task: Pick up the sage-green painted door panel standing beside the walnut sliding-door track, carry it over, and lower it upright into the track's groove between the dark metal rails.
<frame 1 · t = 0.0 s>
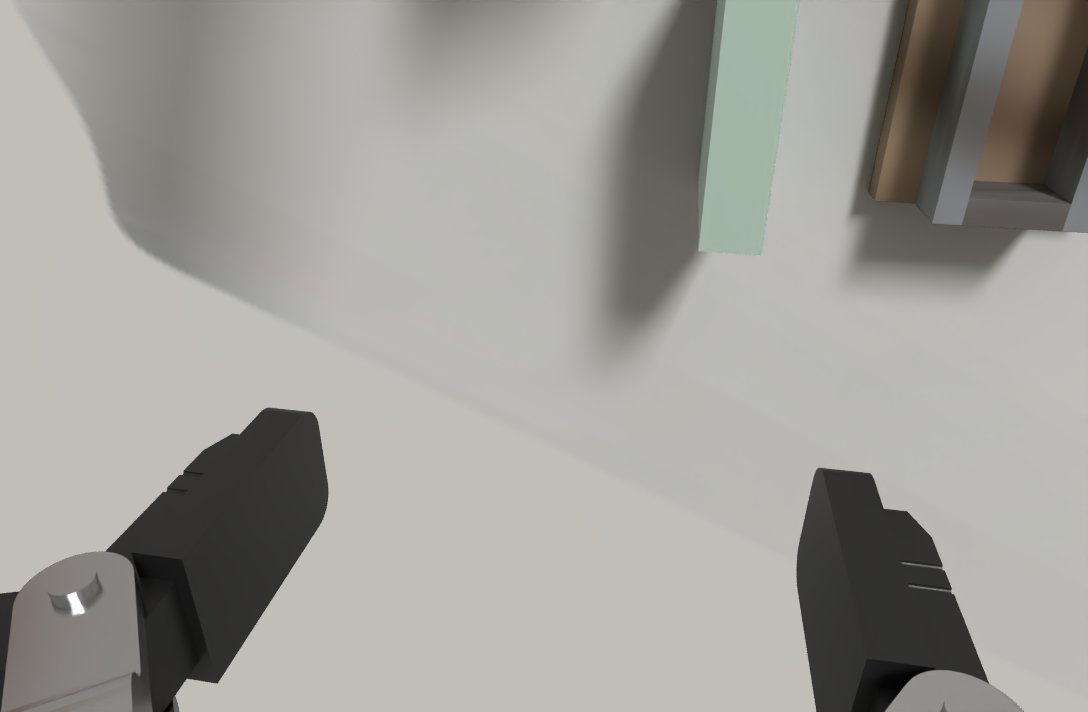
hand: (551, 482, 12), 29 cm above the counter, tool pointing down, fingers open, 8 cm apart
door panel: (737, 55, 36), on the counter
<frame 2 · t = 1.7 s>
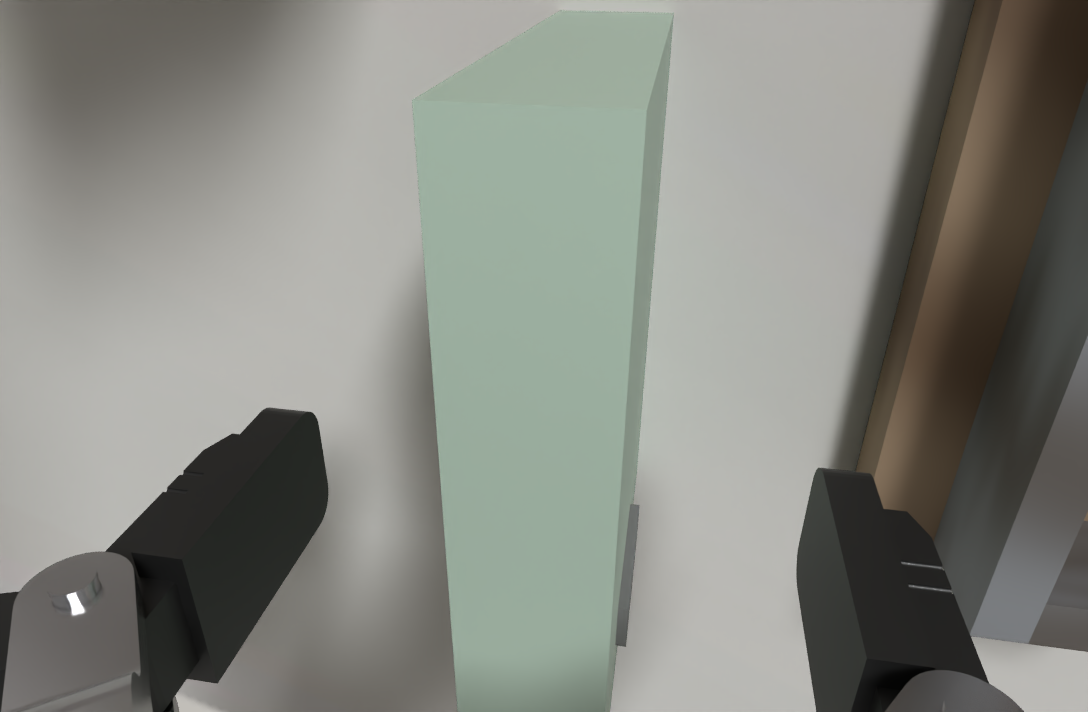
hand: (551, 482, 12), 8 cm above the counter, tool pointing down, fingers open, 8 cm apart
door panel: (604, 273, 19), on the counter
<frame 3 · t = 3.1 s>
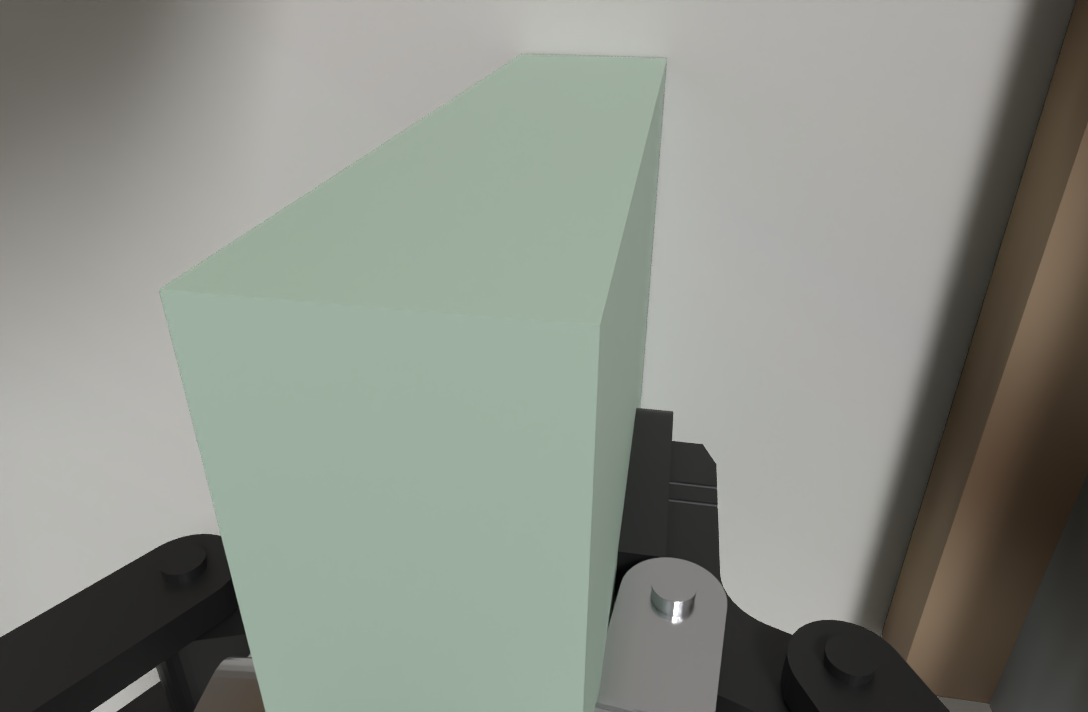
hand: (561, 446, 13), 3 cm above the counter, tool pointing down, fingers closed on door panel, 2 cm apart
door panel: (582, 373, 16), on the counter, touching gripper
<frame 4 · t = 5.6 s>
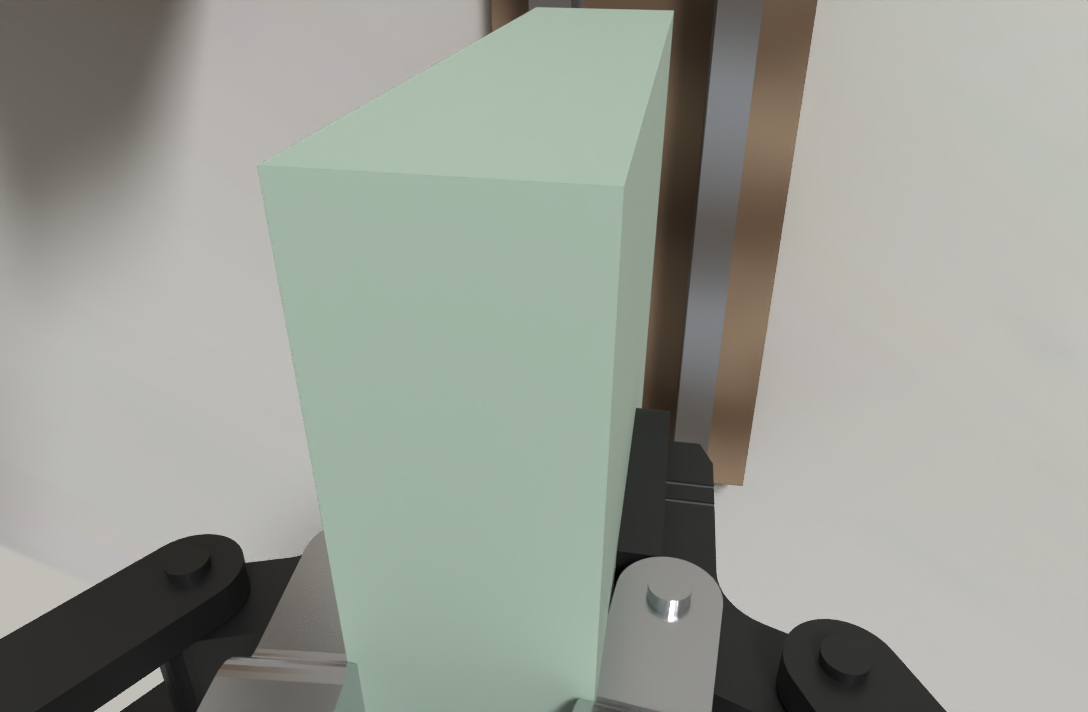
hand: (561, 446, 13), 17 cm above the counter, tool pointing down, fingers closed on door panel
door track: (640, 180, 28), on the counter
door panel: (591, 316, 16), point 13 cm above the counter, touching gripper
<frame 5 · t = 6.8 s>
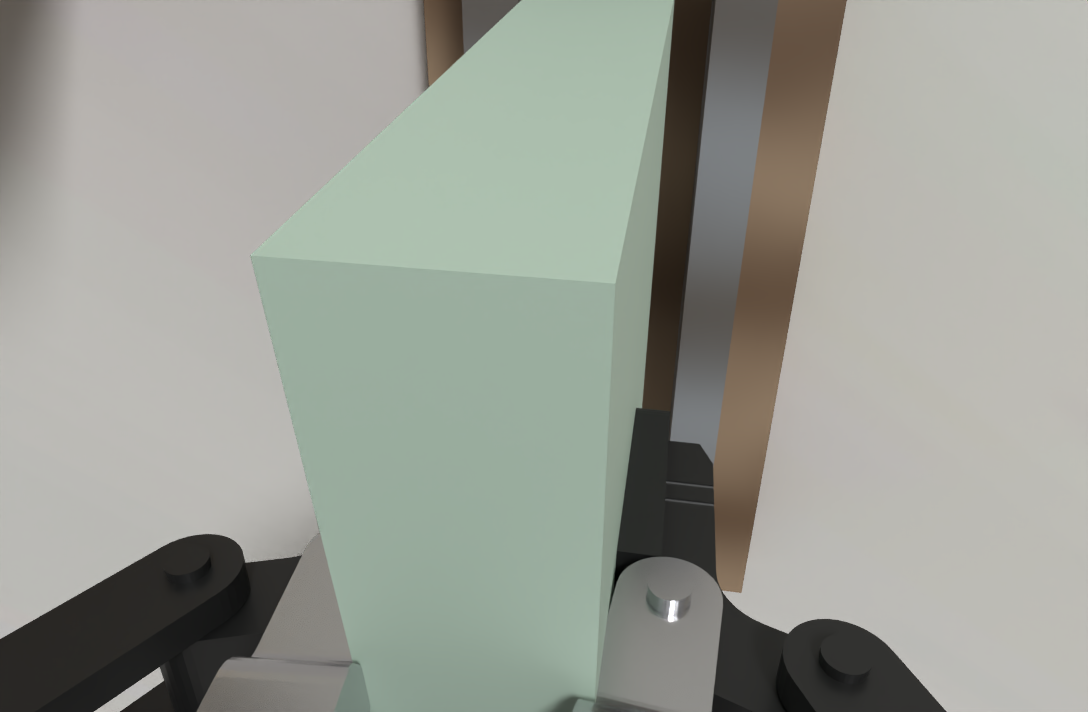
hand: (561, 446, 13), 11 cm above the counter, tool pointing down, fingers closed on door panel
door track: (617, 233, 23), on the counter
door panel: (593, 299, 16), point 7 cm above the counter, tilted 6°, touching gripper
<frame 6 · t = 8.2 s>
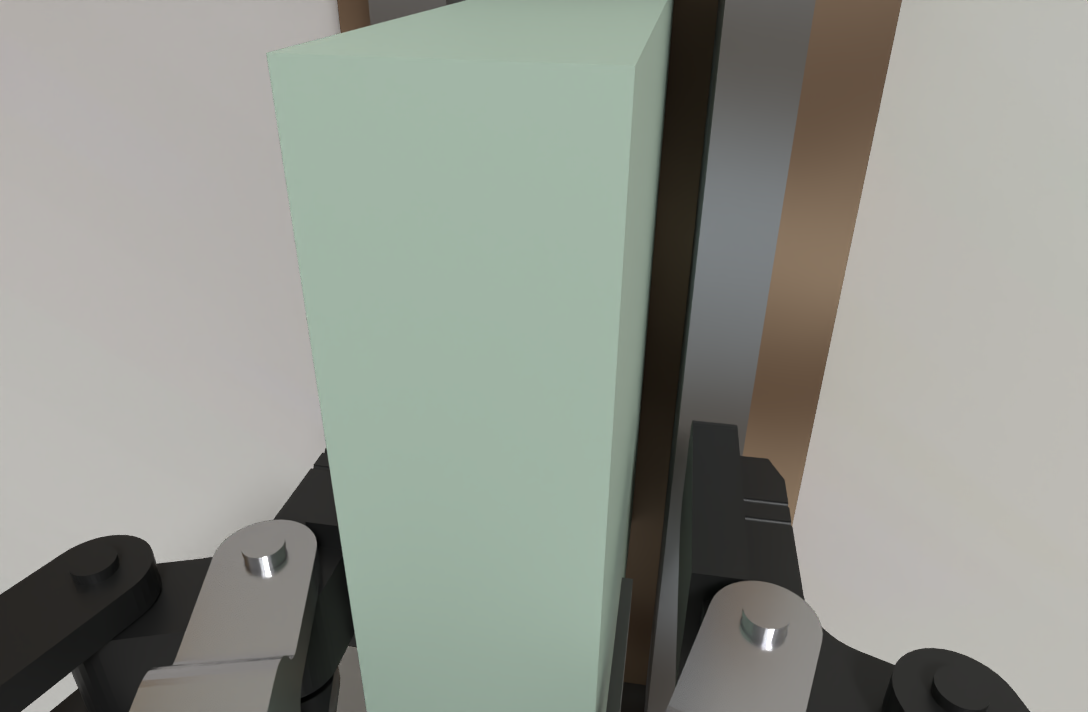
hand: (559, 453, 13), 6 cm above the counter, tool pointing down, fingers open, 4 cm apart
door track: (597, 309, 18), on the counter
door panel: (592, 295, 16), point 1 cm above the counter, touching door track
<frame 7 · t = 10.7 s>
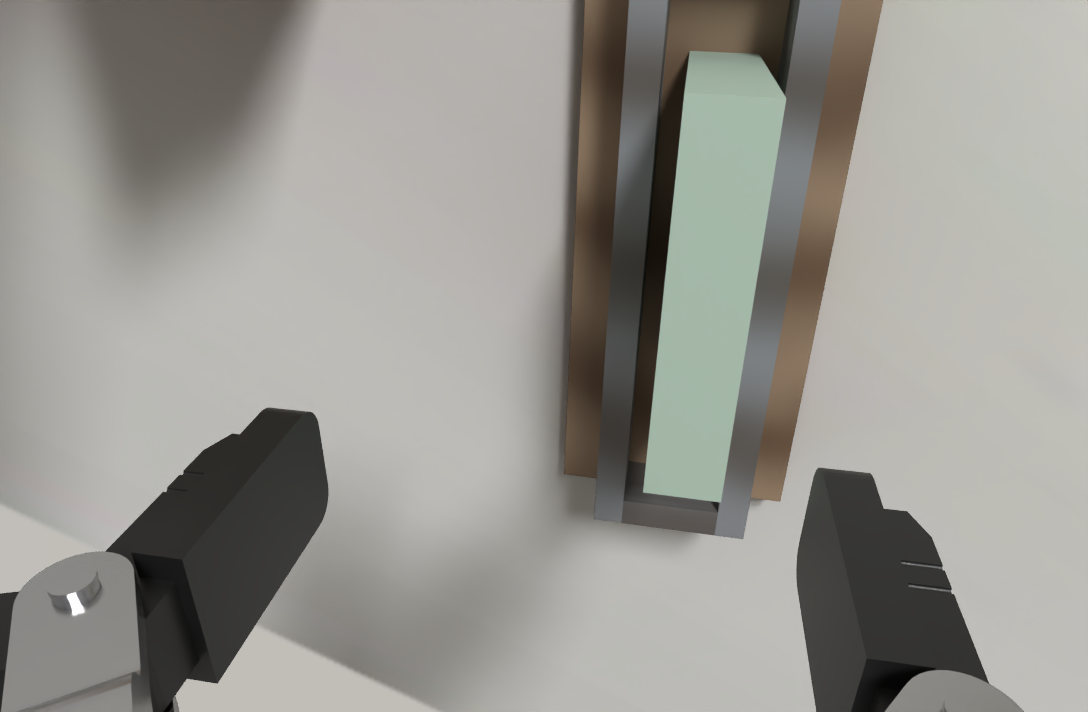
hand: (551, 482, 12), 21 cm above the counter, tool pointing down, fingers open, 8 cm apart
door track: (700, 230, 32), on the counter
door panel: (703, 217, 30), point 1 cm above the counter, touching door track
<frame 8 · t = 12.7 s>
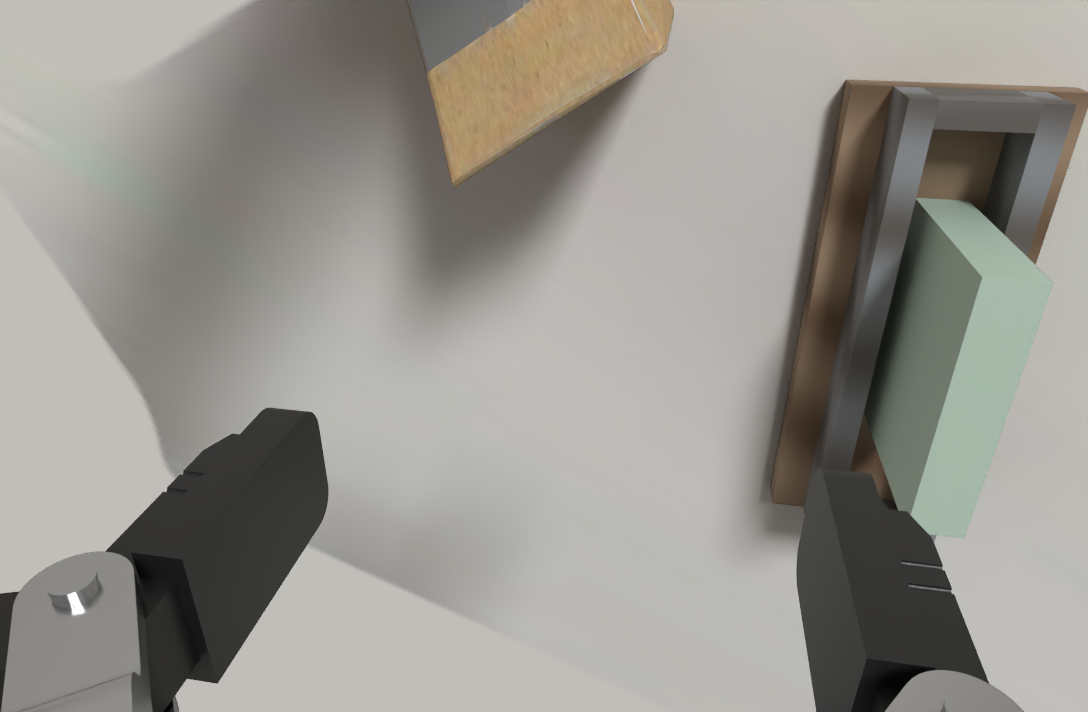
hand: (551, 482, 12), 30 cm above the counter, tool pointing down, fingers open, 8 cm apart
door track: (900, 319, 41), on the counter
door panel: (911, 313, 39), point 1 cm above the counter, touching door track
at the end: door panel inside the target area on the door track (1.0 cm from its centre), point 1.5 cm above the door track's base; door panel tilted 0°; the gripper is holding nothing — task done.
